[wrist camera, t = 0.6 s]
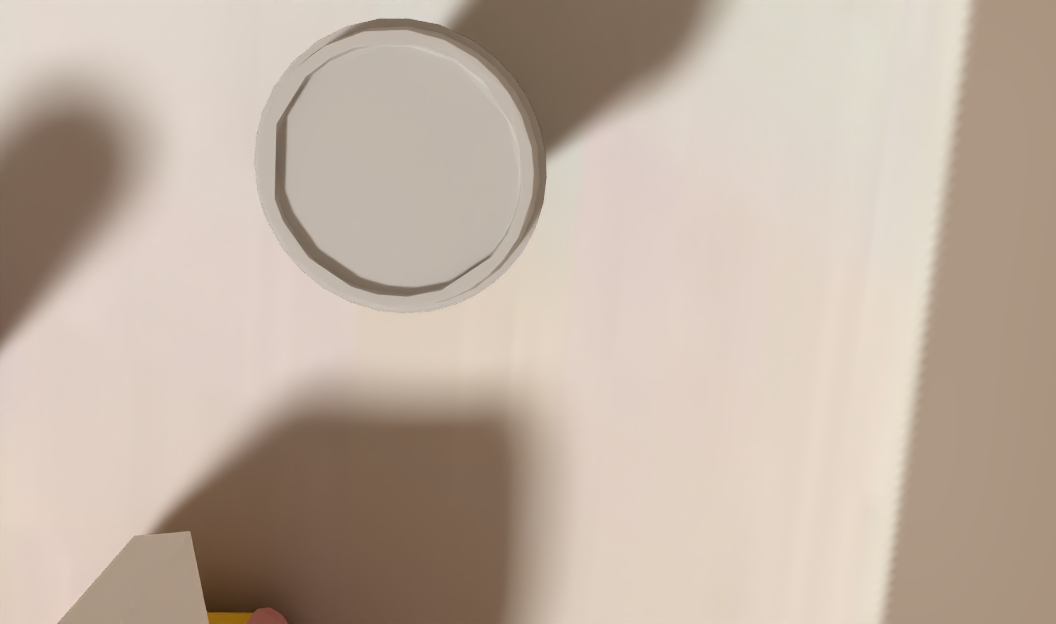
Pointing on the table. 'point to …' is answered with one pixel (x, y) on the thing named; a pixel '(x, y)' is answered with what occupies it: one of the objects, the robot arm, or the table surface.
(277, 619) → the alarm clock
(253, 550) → the table surface
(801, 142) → the table surface
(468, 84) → the disposable coffee cup
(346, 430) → the table surface
